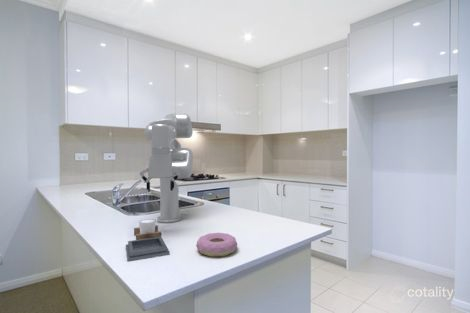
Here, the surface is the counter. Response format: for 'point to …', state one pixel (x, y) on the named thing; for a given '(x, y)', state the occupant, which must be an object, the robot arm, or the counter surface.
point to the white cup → (147, 226)
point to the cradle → (146, 248)
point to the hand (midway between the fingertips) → (160, 190)
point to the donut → (216, 244)
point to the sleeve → (146, 234)
